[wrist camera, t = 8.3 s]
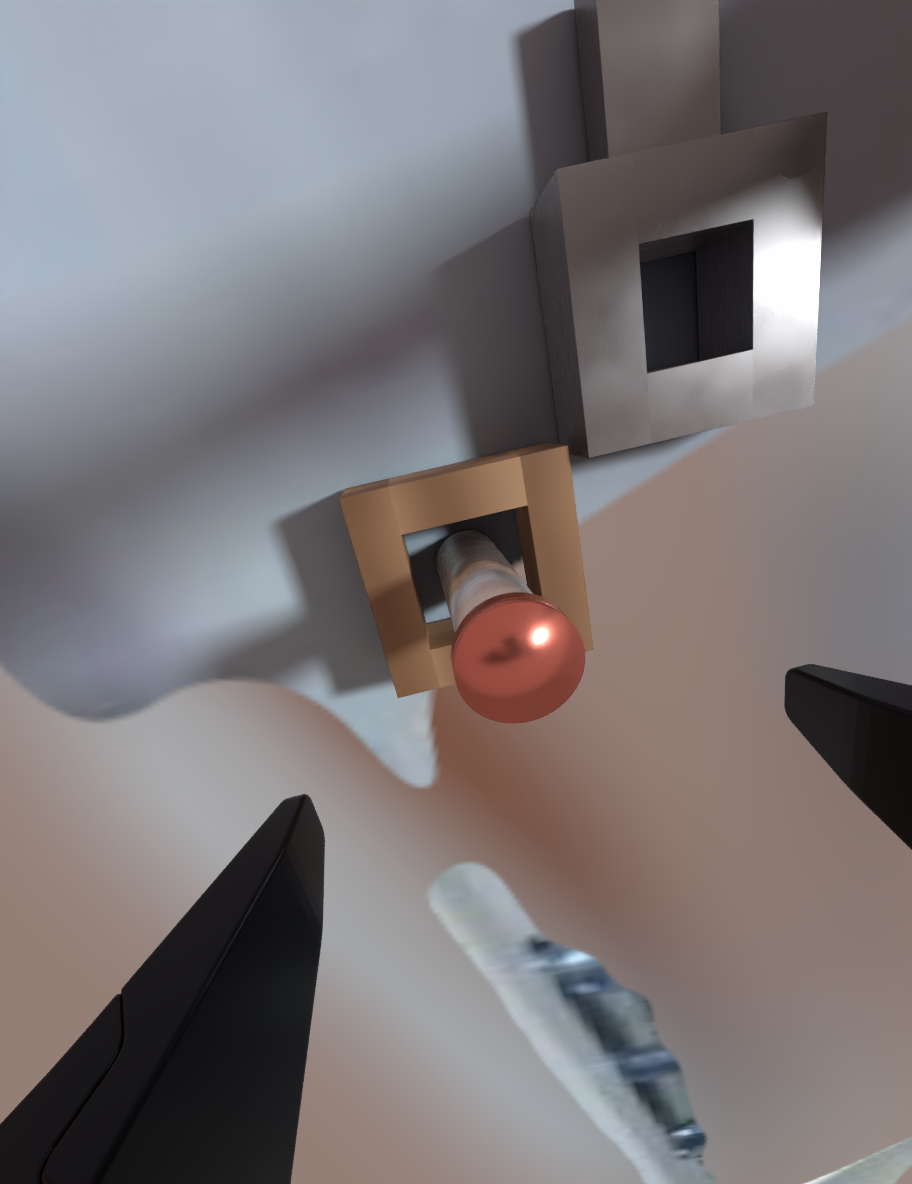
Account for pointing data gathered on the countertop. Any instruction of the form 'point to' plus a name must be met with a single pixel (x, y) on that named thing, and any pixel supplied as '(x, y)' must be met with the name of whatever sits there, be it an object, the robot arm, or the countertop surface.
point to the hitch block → (676, 237)
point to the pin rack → (451, 495)
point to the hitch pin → (505, 635)
